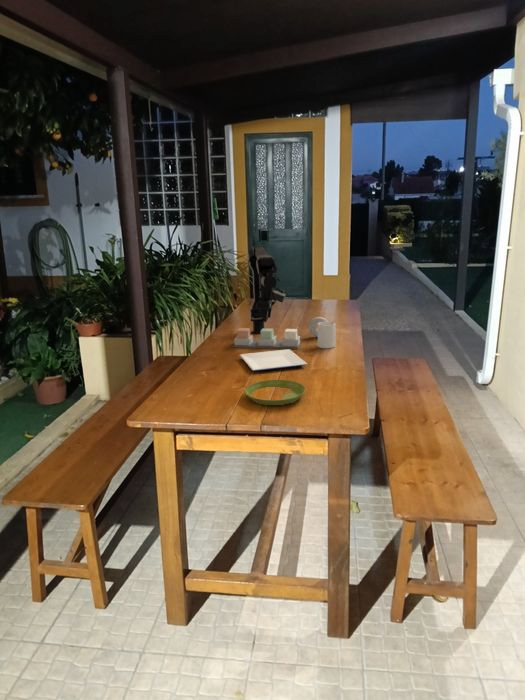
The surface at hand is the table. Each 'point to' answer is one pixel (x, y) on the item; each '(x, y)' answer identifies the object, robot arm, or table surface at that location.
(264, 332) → the sage button
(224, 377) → the table surface
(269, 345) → the button panel
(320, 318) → the donut
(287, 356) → the plate
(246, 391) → the saucer
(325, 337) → the mug
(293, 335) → the cream button
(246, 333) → the terracotta button
